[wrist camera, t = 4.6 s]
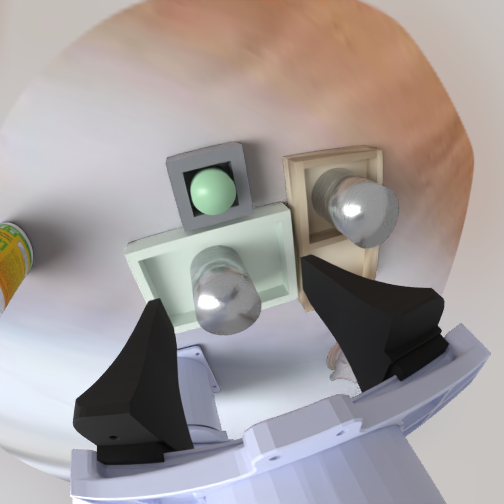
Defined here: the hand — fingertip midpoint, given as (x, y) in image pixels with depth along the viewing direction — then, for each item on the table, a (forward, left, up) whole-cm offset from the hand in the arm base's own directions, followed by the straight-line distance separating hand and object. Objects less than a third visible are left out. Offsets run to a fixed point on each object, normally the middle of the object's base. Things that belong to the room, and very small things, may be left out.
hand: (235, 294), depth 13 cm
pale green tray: (-4, 0, -10) cm, 10 cm away
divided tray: (-3, -11, -10) cm, 15 cm away
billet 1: (-4, 0, -9) cm, 10 cm away
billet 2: (0, -11, -9) cm, 13 cm away
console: (+3, -1, -10) cm, 10 cm away
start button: (+3, -1, -8) cm, 9 cm away
